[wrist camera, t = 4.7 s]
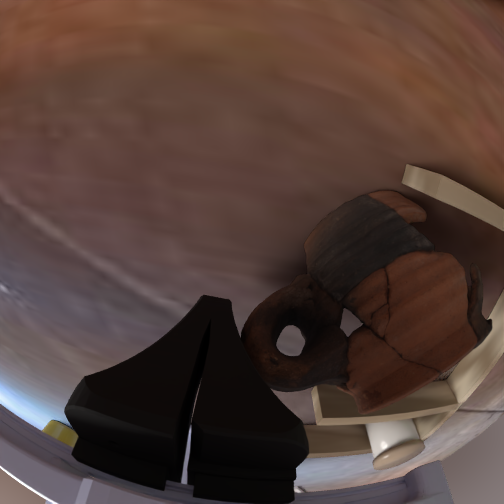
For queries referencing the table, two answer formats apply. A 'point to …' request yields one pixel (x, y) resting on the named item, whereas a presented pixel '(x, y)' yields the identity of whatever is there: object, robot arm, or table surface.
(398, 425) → the cream jar
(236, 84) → the table surface
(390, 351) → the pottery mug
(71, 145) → the table surface
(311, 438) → the bracket
